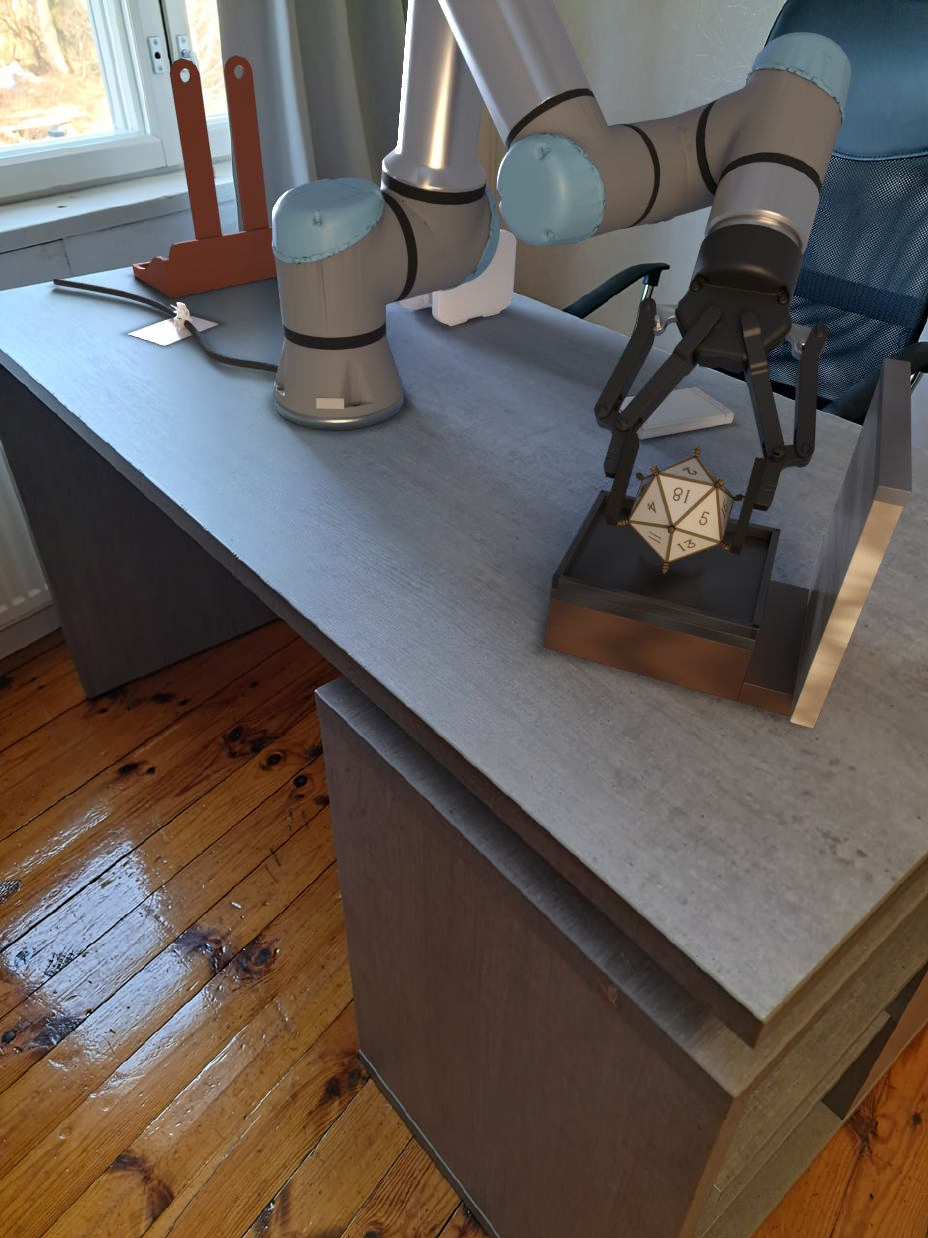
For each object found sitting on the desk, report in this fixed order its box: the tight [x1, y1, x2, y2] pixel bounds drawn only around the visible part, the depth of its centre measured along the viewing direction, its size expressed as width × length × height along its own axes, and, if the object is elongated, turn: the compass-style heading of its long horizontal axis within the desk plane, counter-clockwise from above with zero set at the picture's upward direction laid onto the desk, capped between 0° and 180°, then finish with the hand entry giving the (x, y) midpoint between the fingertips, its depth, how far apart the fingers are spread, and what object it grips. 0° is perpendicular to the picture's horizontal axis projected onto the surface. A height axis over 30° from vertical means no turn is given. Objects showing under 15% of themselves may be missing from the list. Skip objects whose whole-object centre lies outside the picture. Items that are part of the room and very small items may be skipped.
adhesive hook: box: [169, 301, 193, 331], centre depth 119 cm, size 3×3×3 cm
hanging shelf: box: [131, 54, 277, 299], centre depth 130 cm, size 24×13×30 cm, turn 130°
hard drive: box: [618, 386, 735, 440], centre depth 101 cm, size 2×8×12 cm
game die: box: [617, 445, 745, 574], centre depth 65 cm, size 9×8×10 cm
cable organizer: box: [395, 228, 517, 327], centre depth 125 cm, size 15×11×12 cm
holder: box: [543, 357, 913, 729], centre depth 64 cm, size 20×20×21 cm
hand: (671, 534), depth 63 cm, fingers closed on game die, 8 cm apart
